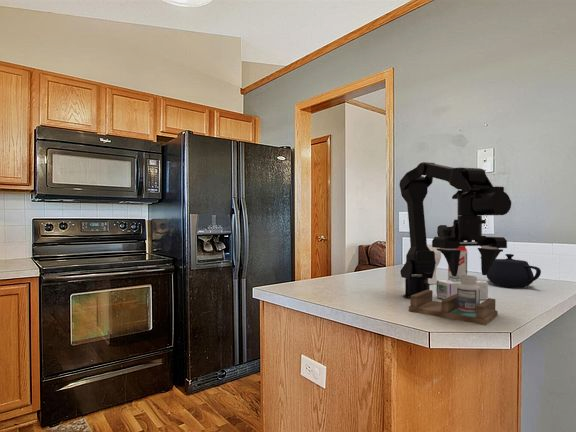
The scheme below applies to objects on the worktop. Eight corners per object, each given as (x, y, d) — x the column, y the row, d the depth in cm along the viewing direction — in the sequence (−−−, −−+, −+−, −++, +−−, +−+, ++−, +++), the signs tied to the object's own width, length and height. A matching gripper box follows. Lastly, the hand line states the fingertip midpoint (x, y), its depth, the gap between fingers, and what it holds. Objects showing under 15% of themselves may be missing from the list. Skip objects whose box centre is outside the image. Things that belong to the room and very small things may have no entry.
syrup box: (488, 281, 113) (447, 281, 110) (488, 300, 113) (447, 301, 110) (475, 278, 119) (436, 279, 116) (475, 296, 118) (436, 297, 115)
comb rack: (408, 310, 98) (408, 295, 98) (425, 303, 107) (425, 289, 107) (486, 325, 85) (486, 307, 85) (497, 315, 94) (497, 299, 94)
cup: (444, 285, 137) (444, 246, 137) (415, 284, 139) (415, 245, 139) (437, 280, 148) (437, 244, 148) (410, 279, 150) (410, 243, 150)
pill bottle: (465, 307, 97) (465, 274, 97) (484, 311, 93) (484, 277, 93) (452, 309, 94) (453, 275, 95) (471, 313, 90) (471, 278, 90)
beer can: (466, 292, 124) (466, 246, 124) (446, 290, 127) (446, 245, 127) (468, 289, 129) (468, 245, 129) (449, 287, 133) (449, 244, 133)
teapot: (554, 290, 131) (554, 256, 131) (525, 292, 125) (525, 257, 125) (493, 279, 154) (493, 250, 154) (466, 281, 148) (466, 251, 148)
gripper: (476, 216, 104) (476, 270, 103) (419, 215, 99) (419, 272, 99) (508, 216, 93) (508, 276, 93) (446, 215, 88) (446, 278, 88)
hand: (469, 275), depth 93 cm, fingers open, 9 cm apart
